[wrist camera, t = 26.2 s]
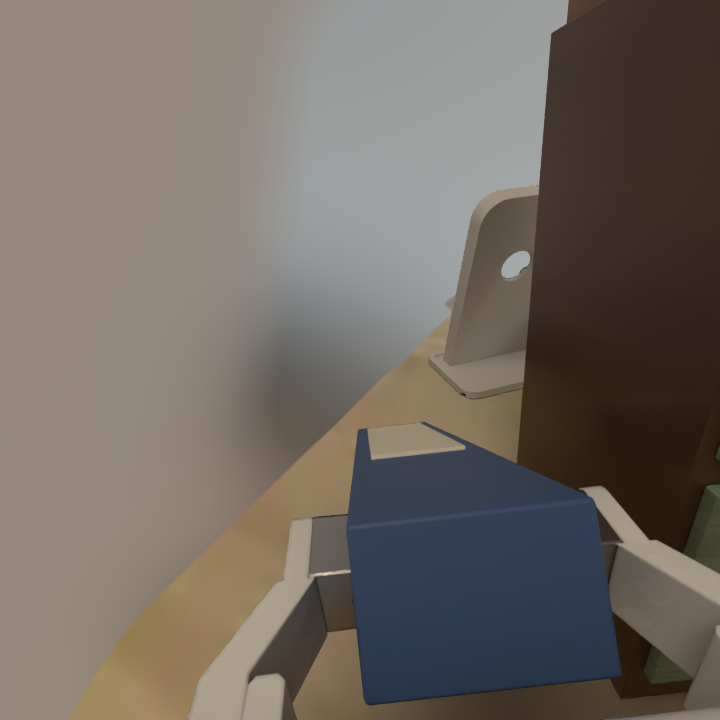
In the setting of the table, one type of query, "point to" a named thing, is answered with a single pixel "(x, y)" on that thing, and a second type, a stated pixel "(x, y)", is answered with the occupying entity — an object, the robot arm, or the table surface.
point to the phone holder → (491, 299)
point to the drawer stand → (631, 283)
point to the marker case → (471, 571)
